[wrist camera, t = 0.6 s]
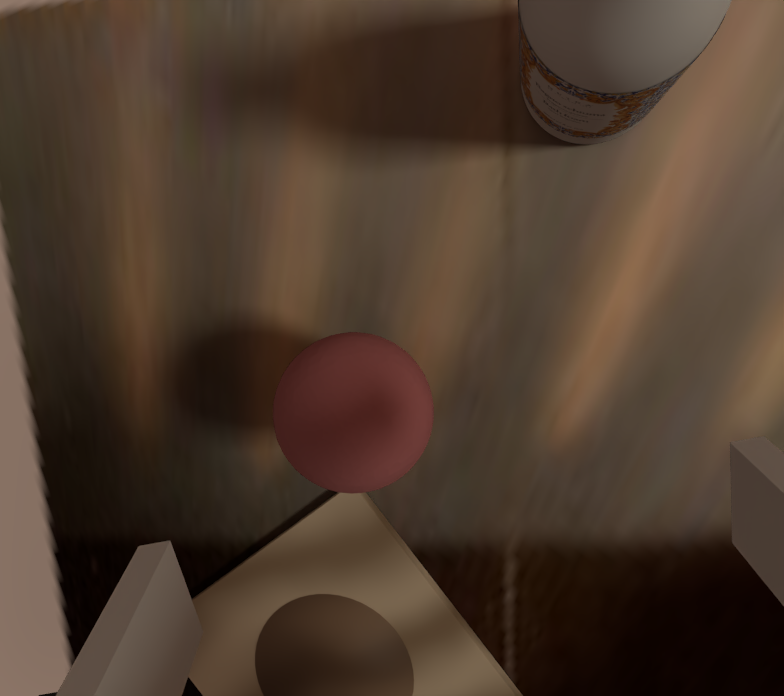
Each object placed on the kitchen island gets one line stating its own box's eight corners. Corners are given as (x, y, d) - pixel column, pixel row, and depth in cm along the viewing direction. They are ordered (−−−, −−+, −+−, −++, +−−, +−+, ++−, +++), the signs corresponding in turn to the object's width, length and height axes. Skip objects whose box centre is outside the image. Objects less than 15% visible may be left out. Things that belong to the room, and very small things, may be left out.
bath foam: (496, 110, 35) (459, -74, 15) (563, -21, 33) (617, -407, 14) (616, 170, 34) (737, 57, 15) (690, 39, 32) (936, -281, 13)
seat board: (532, 708, 39) (533, 718, 38) (318, 831, 43) (314, 842, 42) (355, 479, 39) (351, 484, 38) (159, 622, 43) (151, 630, 42)
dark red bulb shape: (436, 302, 37) (395, 325, 25) (465, 426, 37) (438, 504, 26) (317, 330, 38) (226, 364, 27) (347, 448, 39) (271, 531, 27)
